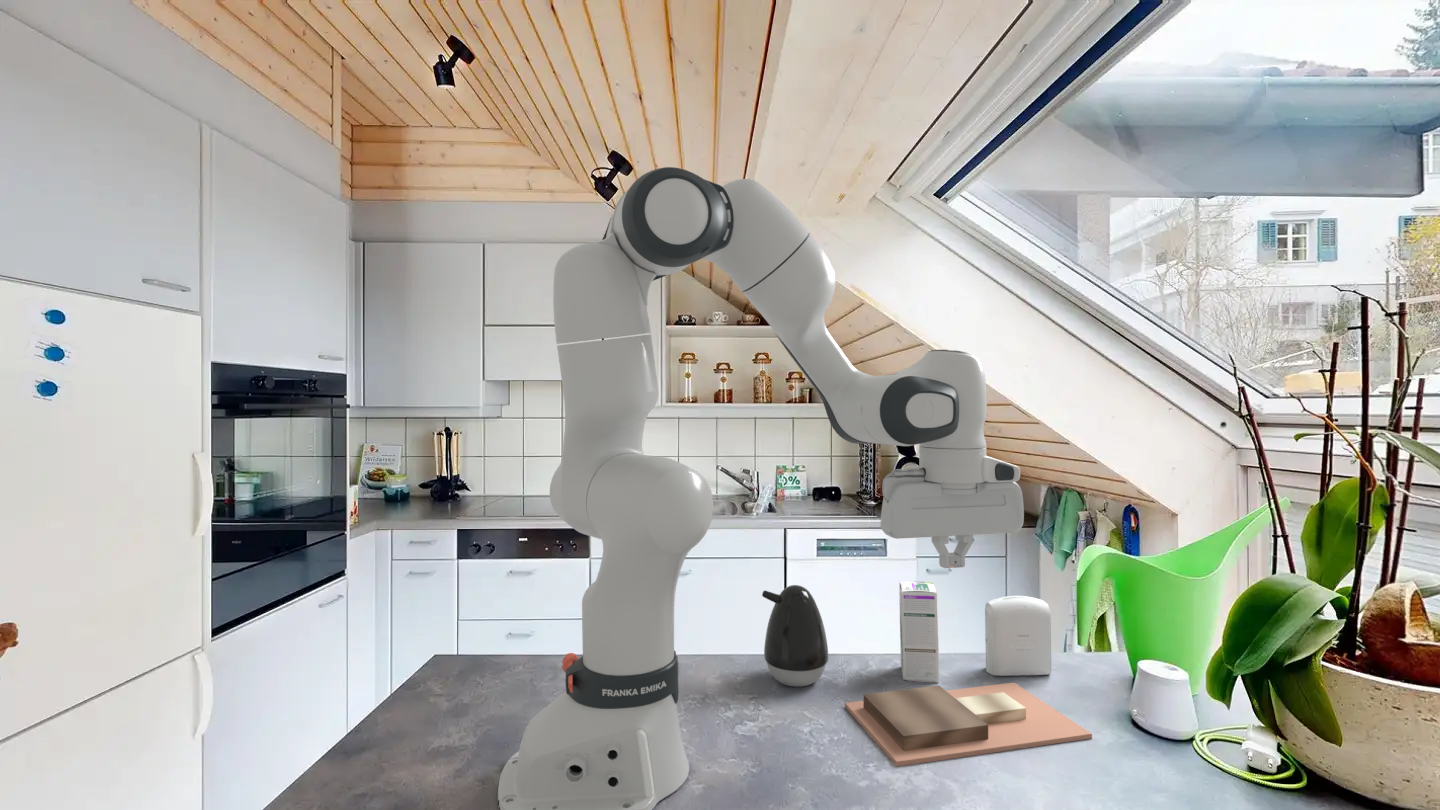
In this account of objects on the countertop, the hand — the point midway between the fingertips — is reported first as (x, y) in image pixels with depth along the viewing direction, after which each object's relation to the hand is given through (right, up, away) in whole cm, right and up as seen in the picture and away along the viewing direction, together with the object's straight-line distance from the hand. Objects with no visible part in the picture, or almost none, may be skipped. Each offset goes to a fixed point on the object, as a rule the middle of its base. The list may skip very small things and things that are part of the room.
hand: (951, 567), depth 93 cm
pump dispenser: (-20, -22, +14) cm, 33 cm away
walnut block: (-4, -22, -1) cm, 22 cm away
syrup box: (0, -21, +16) cm, 26 cm away
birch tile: (+6, -21, +1) cm, 22 cm away
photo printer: (+16, -21, +16) cm, 31 cm away
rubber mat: (+1, -22, 0) cm, 22 cm away
